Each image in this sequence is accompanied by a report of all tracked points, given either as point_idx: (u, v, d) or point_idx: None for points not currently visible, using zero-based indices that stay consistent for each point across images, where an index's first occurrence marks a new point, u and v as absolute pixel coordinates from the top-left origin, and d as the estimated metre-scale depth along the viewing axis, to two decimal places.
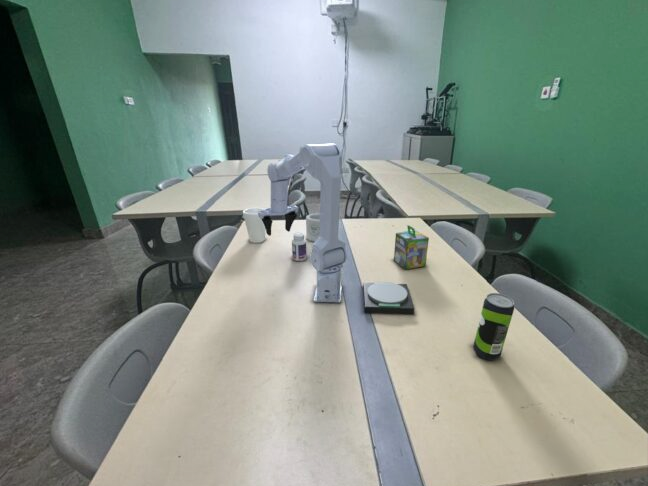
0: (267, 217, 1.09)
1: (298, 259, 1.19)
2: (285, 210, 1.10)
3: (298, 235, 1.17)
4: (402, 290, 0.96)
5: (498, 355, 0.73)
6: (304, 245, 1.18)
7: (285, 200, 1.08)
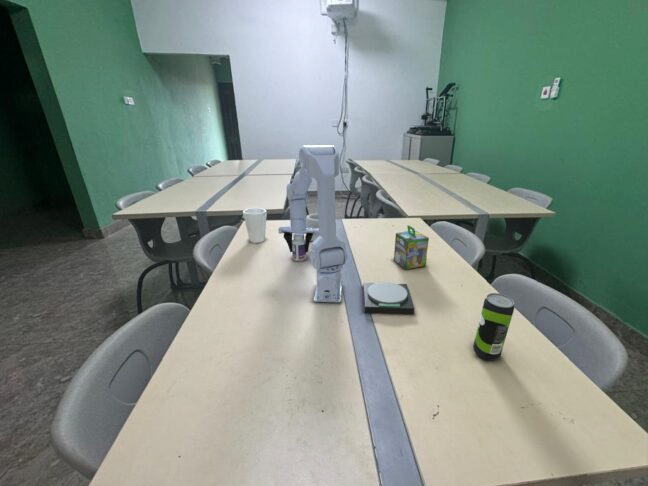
0: (287, 233, 1.16)
1: (298, 259, 1.19)
2: (300, 229, 1.14)
3: (298, 235, 1.17)
4: (402, 290, 0.96)
5: (498, 355, 0.73)
6: (304, 245, 1.18)
7: (299, 219, 1.12)
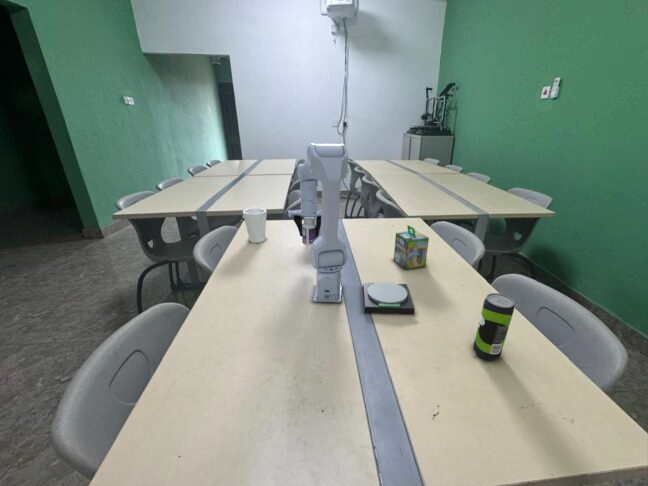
0: (297, 216, 1.13)
1: (309, 244, 1.15)
2: (311, 212, 1.10)
3: (308, 218, 1.13)
4: (402, 290, 0.96)
5: (498, 355, 0.73)
6: (315, 229, 1.14)
7: (310, 201, 1.09)
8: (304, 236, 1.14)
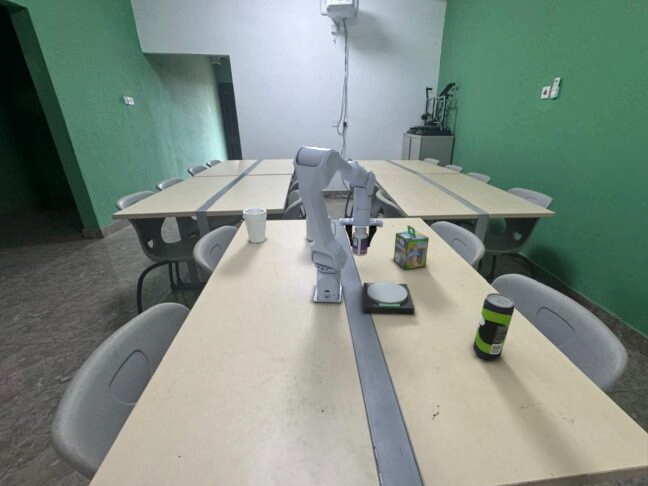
0: (349, 226, 1.05)
1: (360, 255, 1.08)
2: (365, 221, 1.03)
3: (361, 228, 1.06)
4: (402, 290, 0.96)
5: (498, 355, 0.73)
6: (367, 239, 1.07)
7: (365, 210, 1.01)
8: (355, 246, 1.07)
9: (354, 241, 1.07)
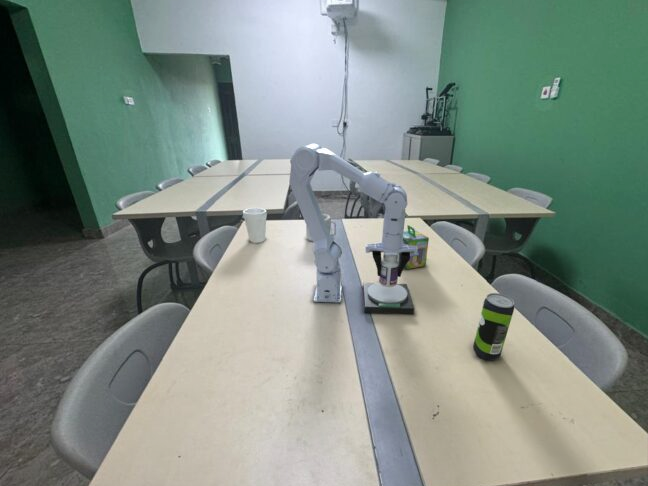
0: (377, 252, 0.89)
1: (389, 286, 0.92)
2: (397, 248, 0.87)
3: (391, 255, 0.90)
4: (402, 290, 0.96)
5: (498, 355, 0.73)
6: (397, 267, 0.91)
7: (398, 235, 0.85)
8: (384, 276, 0.91)
9: (383, 270, 0.91)
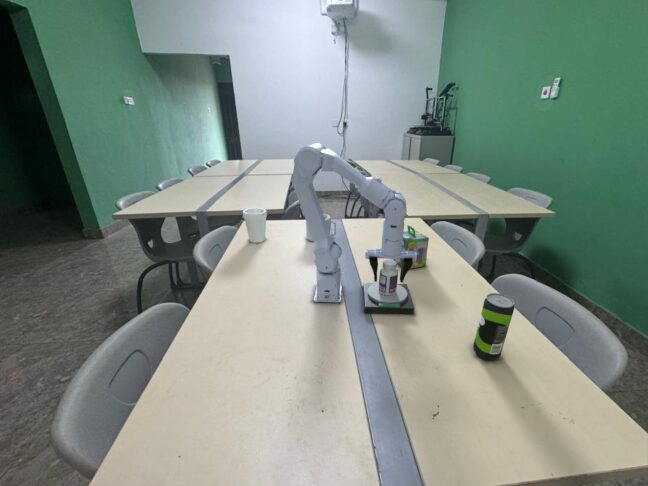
0: (374, 258, 0.90)
1: (388, 294, 0.93)
2: (396, 254, 0.88)
3: (390, 263, 0.91)
4: (402, 290, 0.96)
5: (498, 355, 0.73)
6: (397, 276, 0.92)
7: (397, 241, 0.86)
8: (383, 285, 0.92)
9: (382, 279, 0.92)
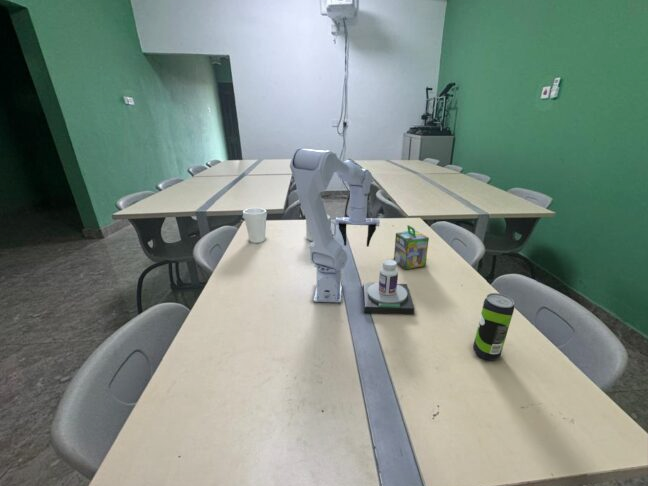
0: (343, 224, 1.05)
1: (388, 294, 0.93)
2: (361, 220, 1.02)
3: (390, 263, 0.91)
4: (402, 290, 0.96)
5: (498, 355, 0.73)
6: (397, 276, 0.92)
7: (361, 208, 1.00)
8: (383, 285, 0.92)
9: (382, 279, 0.92)
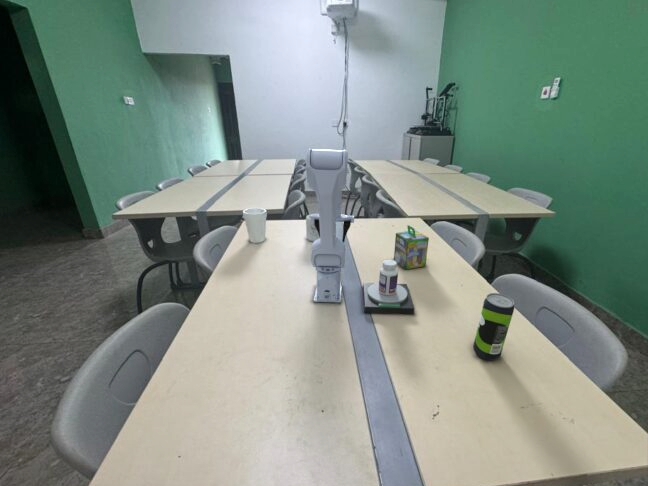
0: (318, 221, 1.07)
1: (388, 294, 0.93)
2: (335, 216, 1.05)
3: (390, 263, 0.91)
4: (402, 290, 0.96)
5: (498, 355, 0.73)
6: (397, 276, 0.92)
7: (335, 205, 1.03)
8: (383, 285, 0.92)
9: (382, 279, 0.92)
